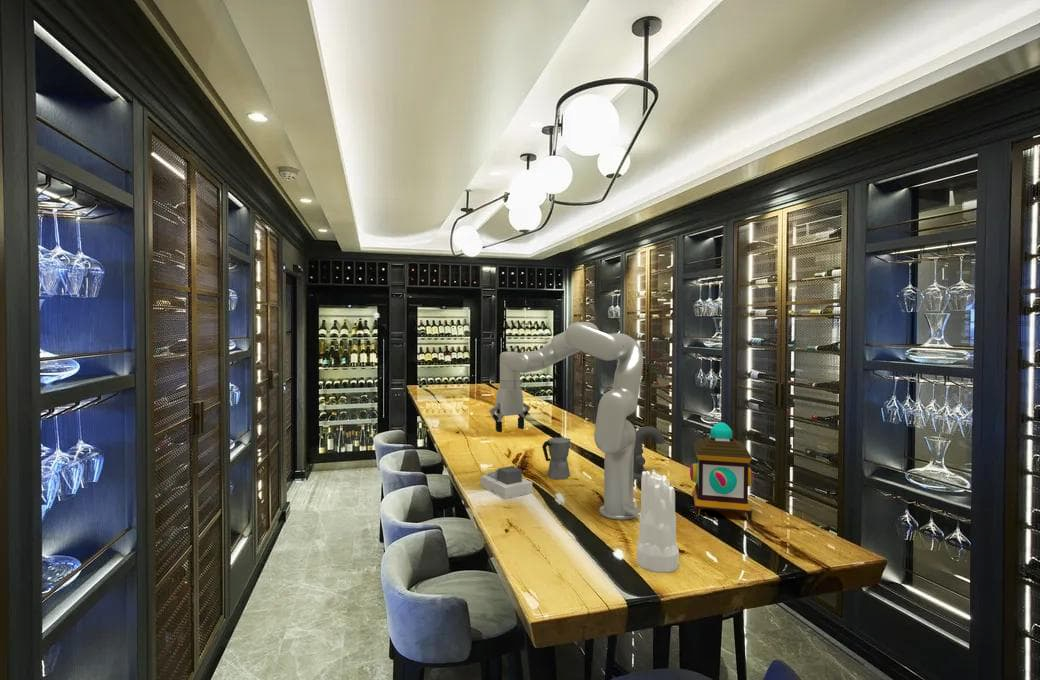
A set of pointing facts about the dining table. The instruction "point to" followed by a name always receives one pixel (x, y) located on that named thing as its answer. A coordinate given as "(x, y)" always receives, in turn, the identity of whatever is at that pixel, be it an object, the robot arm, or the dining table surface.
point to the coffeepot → (557, 457)
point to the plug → (509, 475)
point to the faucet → (638, 450)
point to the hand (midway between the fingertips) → (510, 430)
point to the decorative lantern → (721, 473)
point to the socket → (506, 487)
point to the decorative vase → (657, 525)
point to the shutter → (493, 474)
